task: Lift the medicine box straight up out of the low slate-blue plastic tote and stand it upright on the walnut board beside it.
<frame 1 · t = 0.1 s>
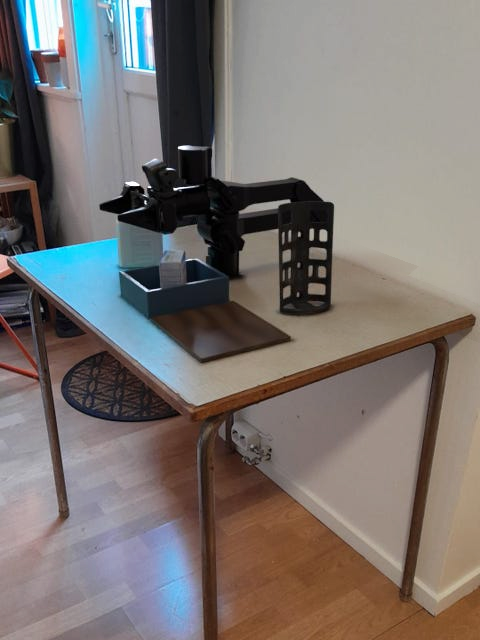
hand: (108, 212, 125), 17 cm above the table, tool horizontal, fingers open, 9 cm apart
grey rounded block: (141, 266, 150), on the table
holder: (301, 308, 130), on the table
medicine box: (174, 298, 132), resting on tote
board: (218, 330, 119), on the table
tote: (174, 299, 132), on the table
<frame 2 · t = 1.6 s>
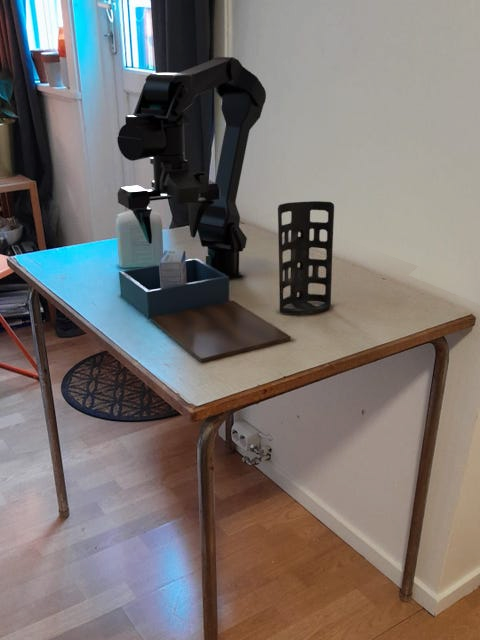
hand: (171, 240, 126), 12 cm above the table, tool pointing down, fingers open, 9 cm apart
nothing on the table moved.
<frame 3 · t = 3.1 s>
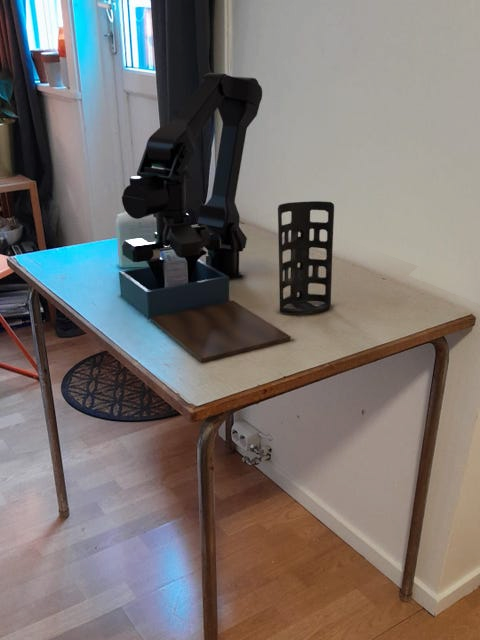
hand: (174, 287, 131), 3 cm above the table, tool pointing down, fingers closed on medicine box, 5 cm apart
medicine box: (174, 298, 132), resting on tote, touching gripper
everything else where it was.
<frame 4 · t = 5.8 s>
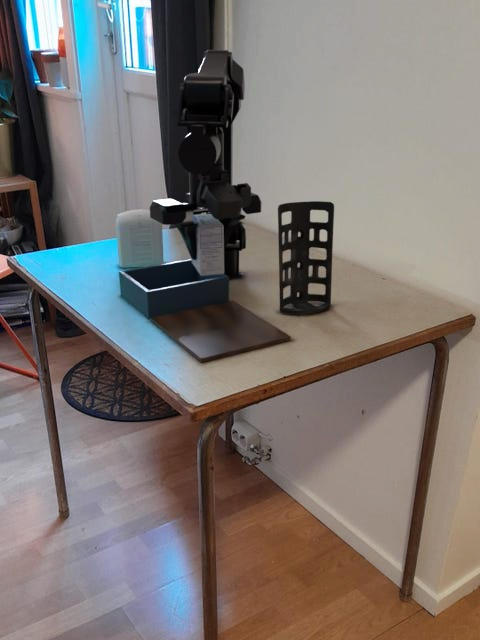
hand: (207, 257, 115), 13 cm above the table, tool pointing down, fingers closed on medicine box, 5 cm apart
medicine box: (207, 270, 116), point 10 cm above the table, touching gripper
everything else where it was.
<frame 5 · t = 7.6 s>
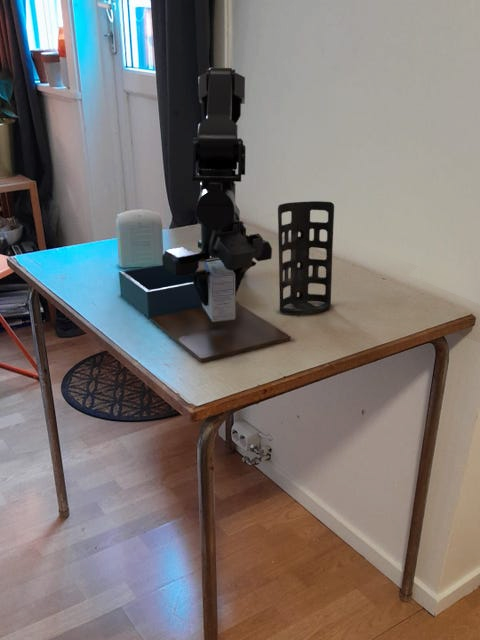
hand: (218, 302, 116), 5 cm above the table, tool pointing down, fingers closed on medicine box, 5 cm apart
medicine box: (218, 314, 118), point 3 cm above the table, touching gripper
everything else where it was.
when the fingers open (3 cm above the table, at t = 8.7 s): medicine box stays where it is, resting on board.
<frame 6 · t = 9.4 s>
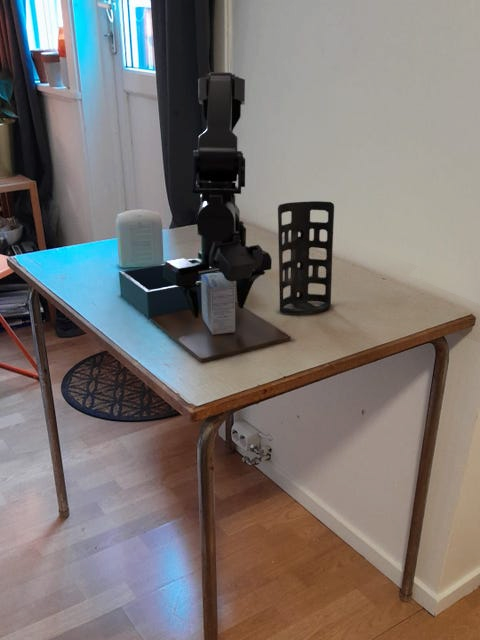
hand: (218, 312, 117), 4 cm above the table, tool pointing down, fingers open, 9 cm apart
medicine box: (218, 326, 119), point 1 cm above the table, touching board
everything else where it was.
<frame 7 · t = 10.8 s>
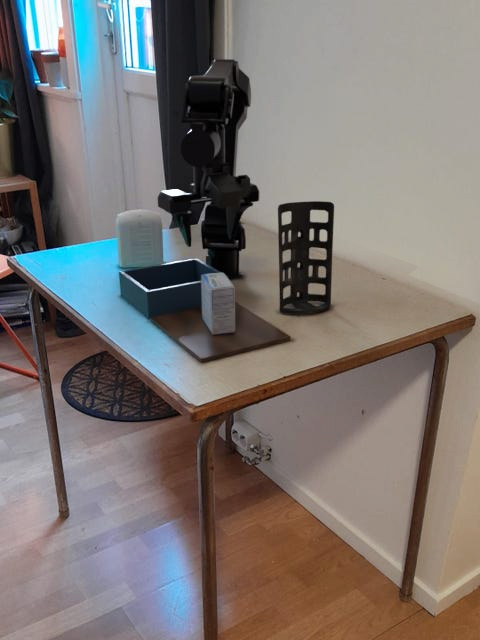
hand: (210, 242, 125), 12 cm above the table, tool pointing down, fingers open, 9 cm apart
nothing on the table moved.
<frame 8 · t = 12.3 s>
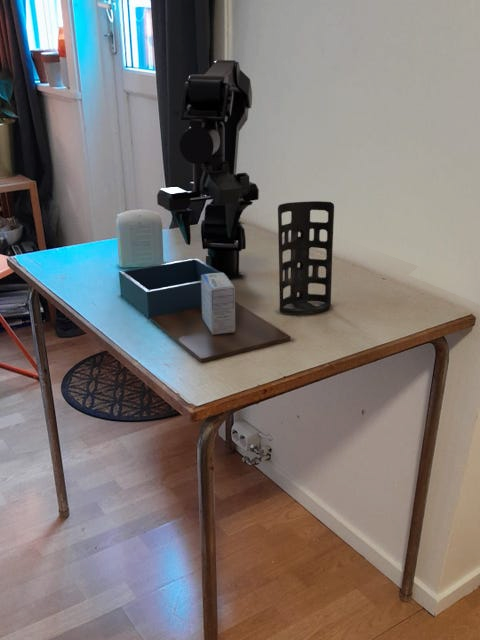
hand: (209, 241, 126), 12 cm above the table, tool pointing down, fingers open, 9 cm apart
nothing on the table moved.
at the end: medicine box inside the target area on the board (0.3 cm from its centre), point 0.6 cm above the board's base; medicine box tilted 0°; the gripper is holding nothing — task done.
